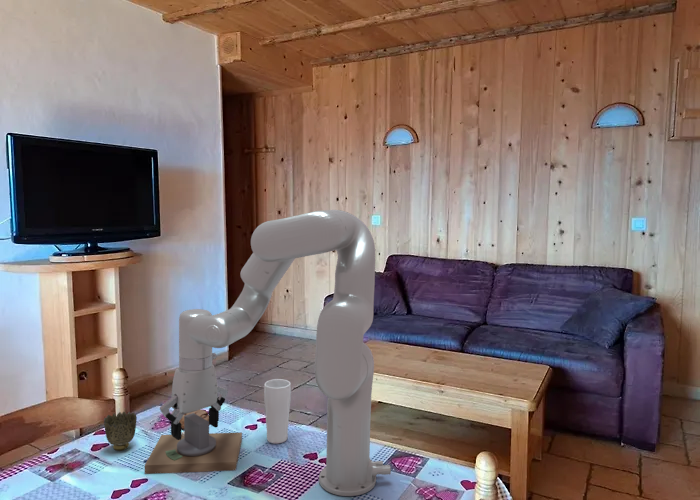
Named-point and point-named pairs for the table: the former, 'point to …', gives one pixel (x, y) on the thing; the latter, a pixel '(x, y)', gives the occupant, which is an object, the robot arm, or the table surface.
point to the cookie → (200, 413)
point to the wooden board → (173, 462)
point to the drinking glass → (277, 409)
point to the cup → (120, 429)
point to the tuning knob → (195, 437)
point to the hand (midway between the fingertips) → (195, 431)
